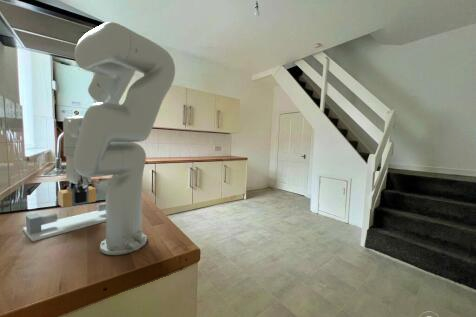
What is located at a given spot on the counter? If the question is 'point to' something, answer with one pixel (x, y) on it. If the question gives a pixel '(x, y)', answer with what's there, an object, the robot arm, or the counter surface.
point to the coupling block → (68, 196)
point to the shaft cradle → (61, 223)
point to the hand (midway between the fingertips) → (77, 200)
